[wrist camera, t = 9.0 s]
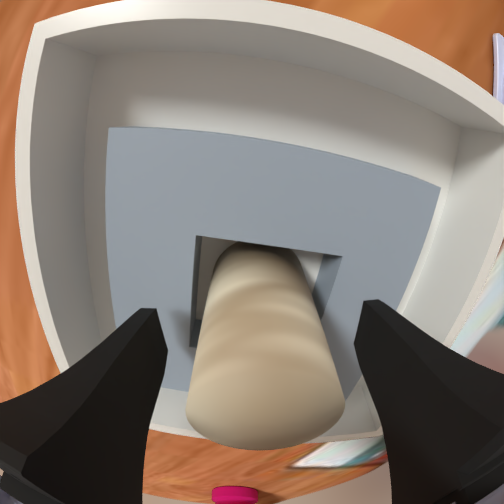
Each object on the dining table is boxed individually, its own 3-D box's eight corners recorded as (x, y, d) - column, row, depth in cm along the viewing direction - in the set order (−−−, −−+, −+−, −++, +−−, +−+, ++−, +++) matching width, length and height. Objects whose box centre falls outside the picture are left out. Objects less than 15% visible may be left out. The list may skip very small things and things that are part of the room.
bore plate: (415, 176, 11) (441, 187, 9) (338, 375, 15) (345, 400, 14) (131, 126, 10) (108, 127, 8) (136, 354, 14) (126, 379, 13)
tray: (464, 117, 10) (527, 126, 6) (363, 384, 17) (381, 435, 13) (94, 45, 8) (34, 23, 4) (101, 356, 16) (77, 407, 12)
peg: (304, 235, 12) (360, 361, 5) (301, 312, 13) (331, 442, 7) (207, 240, 12) (167, 371, 5) (217, 317, 13) (201, 450, 7)
